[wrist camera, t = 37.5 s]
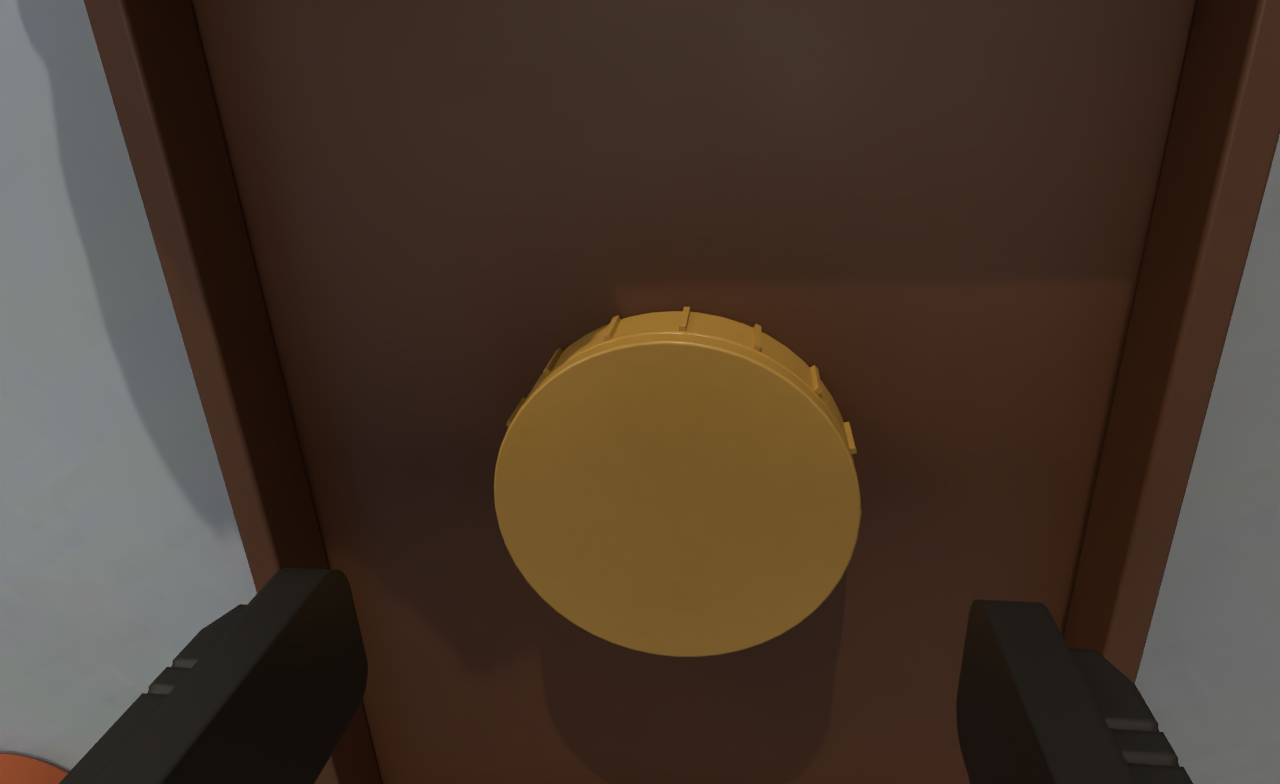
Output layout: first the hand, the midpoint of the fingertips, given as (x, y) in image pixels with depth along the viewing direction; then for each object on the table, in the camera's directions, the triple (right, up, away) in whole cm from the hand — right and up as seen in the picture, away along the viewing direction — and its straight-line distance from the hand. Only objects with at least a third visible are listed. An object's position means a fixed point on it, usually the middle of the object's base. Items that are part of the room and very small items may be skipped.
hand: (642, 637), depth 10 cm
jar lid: (+1, +1, +3) cm, 3 cm away
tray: (+1, +2, +5) cm, 5 cm away
